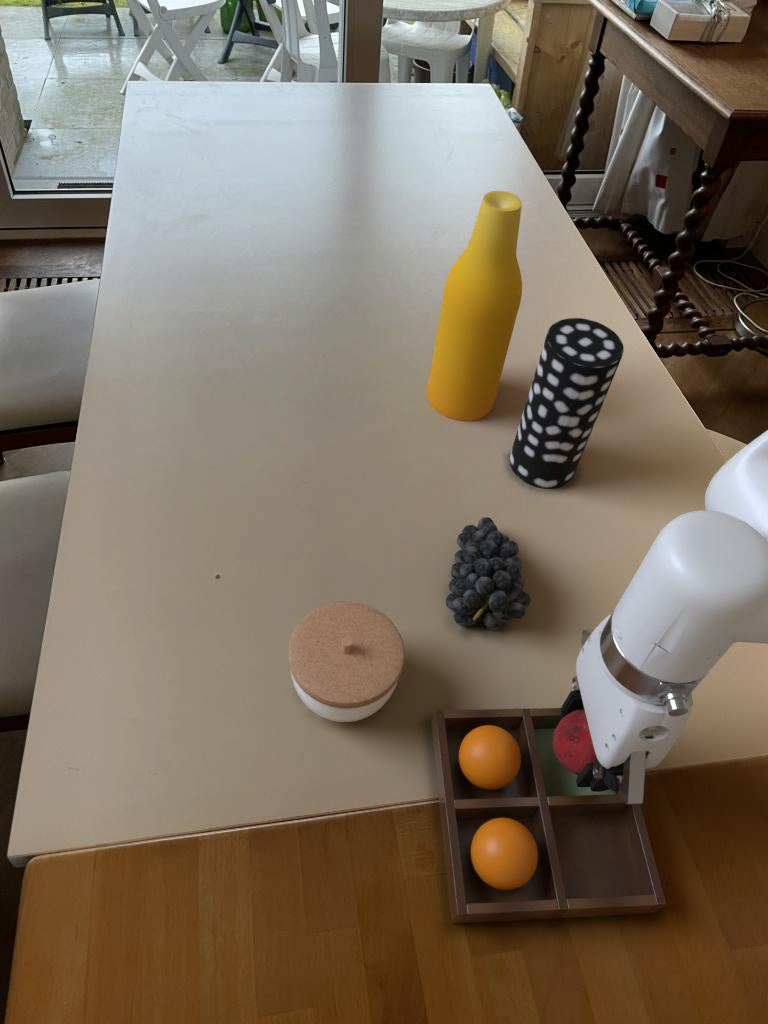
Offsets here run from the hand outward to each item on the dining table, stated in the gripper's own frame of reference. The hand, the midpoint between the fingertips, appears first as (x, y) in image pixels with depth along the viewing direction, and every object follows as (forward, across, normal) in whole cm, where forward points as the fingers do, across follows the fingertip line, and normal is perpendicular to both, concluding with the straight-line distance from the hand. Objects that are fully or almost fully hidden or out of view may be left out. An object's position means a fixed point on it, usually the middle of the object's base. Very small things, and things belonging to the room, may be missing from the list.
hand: (585, 746), depth 70 cm
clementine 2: (+2, -8, +8) cm, 12 cm away
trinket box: (+6, +9, +21) cm, 24 cm away
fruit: (+6, +21, +5) cm, 22 cm away
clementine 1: (+2, 0, +8) cm, 9 cm away
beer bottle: (+6, +51, +4) cm, 51 cm away
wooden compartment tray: (+5, -4, +4) cm, 8 cm away
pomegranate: (+3, 0, 0) cm, 3 cm away
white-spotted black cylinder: (+6, +39, -5) cm, 39 cm away
